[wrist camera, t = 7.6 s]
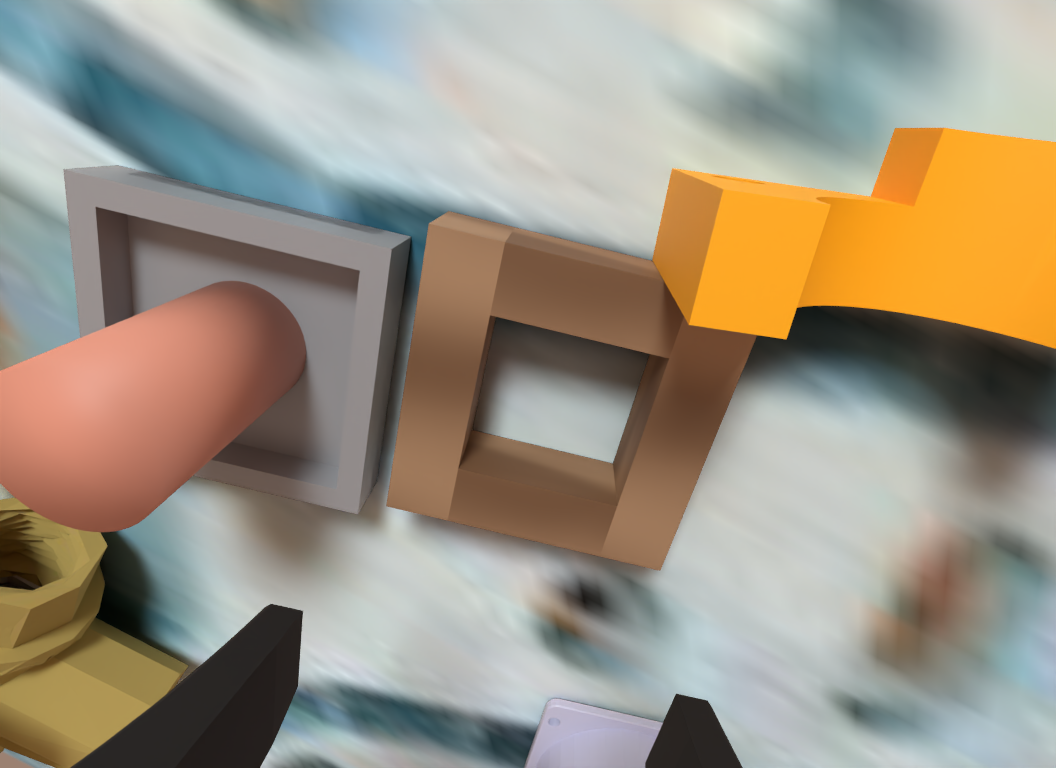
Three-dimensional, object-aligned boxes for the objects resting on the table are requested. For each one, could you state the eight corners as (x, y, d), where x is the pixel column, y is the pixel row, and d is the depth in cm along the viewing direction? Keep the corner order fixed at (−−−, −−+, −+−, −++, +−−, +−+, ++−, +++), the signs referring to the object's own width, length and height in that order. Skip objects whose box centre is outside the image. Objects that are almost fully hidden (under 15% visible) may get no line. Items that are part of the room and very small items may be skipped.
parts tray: (377, 481, 21) (357, 514, 19) (134, 424, 21) (91, 451, 19) (411, 236, 18) (391, 248, 16) (117, 165, 17) (63, 169, 16)
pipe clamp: (1136, 162, 15) (1481, 182, 10) (1055, 317, 17) (1304, 416, 11) (686, 99, 16) (751, 80, 10) (651, 259, 17) (688, 324, 12)
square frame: (651, 522, 21) (660, 570, 19) (407, 465, 21) (386, 506, 19) (743, 283, 17) (768, 306, 15) (448, 211, 17) (428, 223, 15)
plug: (301, 412, 19) (163, 550, 13) (183, 383, 19) (-14, 507, 13) (310, 298, 18) (160, 392, 11) (182, 266, 18) (-44, 341, 11)
